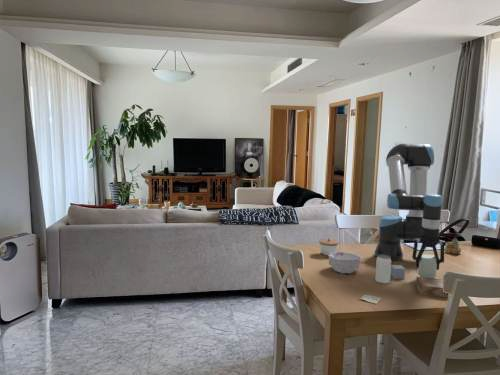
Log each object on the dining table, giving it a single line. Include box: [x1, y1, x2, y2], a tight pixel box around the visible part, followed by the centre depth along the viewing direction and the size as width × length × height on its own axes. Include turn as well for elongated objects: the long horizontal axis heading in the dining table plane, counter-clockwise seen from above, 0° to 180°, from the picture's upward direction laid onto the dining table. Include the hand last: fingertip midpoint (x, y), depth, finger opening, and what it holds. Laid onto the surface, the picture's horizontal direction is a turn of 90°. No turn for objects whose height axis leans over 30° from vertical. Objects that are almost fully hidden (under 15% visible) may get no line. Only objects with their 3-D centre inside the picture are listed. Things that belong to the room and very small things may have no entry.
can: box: [374, 255, 392, 285], centre depth 171 cm, size 6×6×12 cm
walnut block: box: [415, 276, 450, 298], centre depth 161 cm, size 11×11×4 cm
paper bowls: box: [328, 251, 361, 274], centre depth 185 cm, size 15×15×8 cm
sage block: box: [418, 253, 436, 279], centre depth 174 cm, size 6×6×10 cm
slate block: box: [390, 264, 406, 280], centre depth 178 cm, size 5×5×5 cm
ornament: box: [444, 236, 462, 255], centre depth 219 cm, size 8×6×10 cm
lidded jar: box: [318, 238, 339, 256], centre depth 212 cm, size 11×11×9 cm
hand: (426, 274), depth 175 cm, fingers closed on sage block, 6 cm apart
